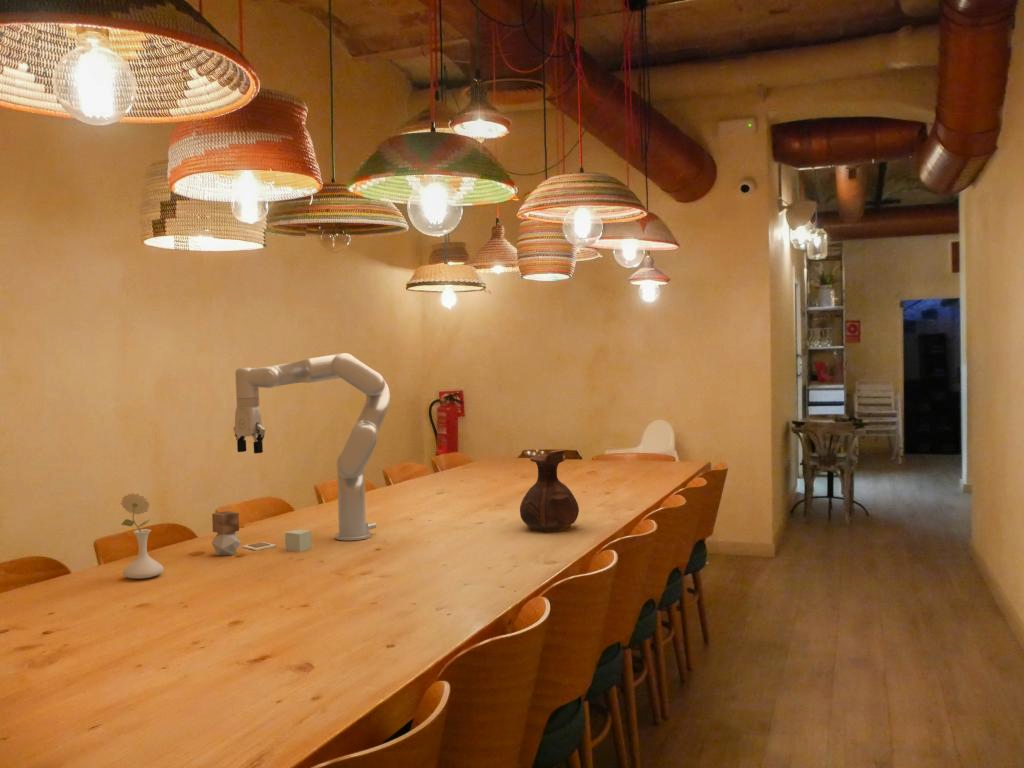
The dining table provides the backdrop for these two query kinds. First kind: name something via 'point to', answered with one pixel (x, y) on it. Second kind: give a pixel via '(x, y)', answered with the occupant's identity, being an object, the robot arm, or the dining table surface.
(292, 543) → the sage block
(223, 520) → the walnut block
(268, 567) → the dining table surface
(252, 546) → the tile
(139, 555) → the flower in vase
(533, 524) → the dark brown vase
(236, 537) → the die
